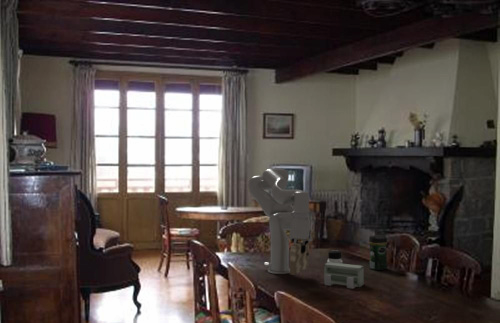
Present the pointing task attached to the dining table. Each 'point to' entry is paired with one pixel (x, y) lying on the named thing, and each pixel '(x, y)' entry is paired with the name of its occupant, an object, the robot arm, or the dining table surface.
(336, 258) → the container
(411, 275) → the dining table surface
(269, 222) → the robot arm
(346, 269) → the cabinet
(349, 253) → the dining table surface
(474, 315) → the dining table surface
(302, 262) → the beige thin block
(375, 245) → the coffee jar
